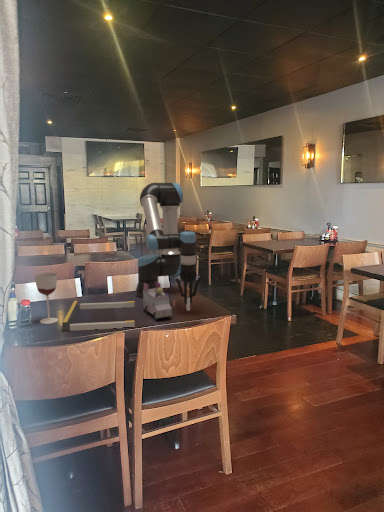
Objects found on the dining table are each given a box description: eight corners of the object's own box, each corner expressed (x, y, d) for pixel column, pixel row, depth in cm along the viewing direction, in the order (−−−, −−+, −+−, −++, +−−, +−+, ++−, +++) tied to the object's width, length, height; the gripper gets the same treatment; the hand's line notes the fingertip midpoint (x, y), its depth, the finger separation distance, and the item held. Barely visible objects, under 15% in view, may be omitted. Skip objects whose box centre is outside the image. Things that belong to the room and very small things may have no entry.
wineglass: (63, 320, 178) (60, 275, 175) (43, 325, 172) (40, 278, 168) (54, 316, 184) (51, 272, 180) (35, 320, 177) (31, 275, 174)
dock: (134, 305, 200) (134, 298, 200) (134, 327, 169) (134, 318, 168) (74, 308, 196) (74, 300, 195) (62, 331, 165) (62, 322, 164)
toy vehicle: (155, 322, 176) (155, 291, 173) (141, 310, 193) (140, 282, 190) (173, 319, 180) (173, 289, 177) (158, 308, 197) (157, 280, 194)
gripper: (199, 261, 189) (199, 306, 193) (174, 262, 187) (174, 307, 191) (202, 264, 181) (202, 311, 186) (175, 265, 179) (176, 312, 184)
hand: (188, 309), depth 188 cm, fingers closed
